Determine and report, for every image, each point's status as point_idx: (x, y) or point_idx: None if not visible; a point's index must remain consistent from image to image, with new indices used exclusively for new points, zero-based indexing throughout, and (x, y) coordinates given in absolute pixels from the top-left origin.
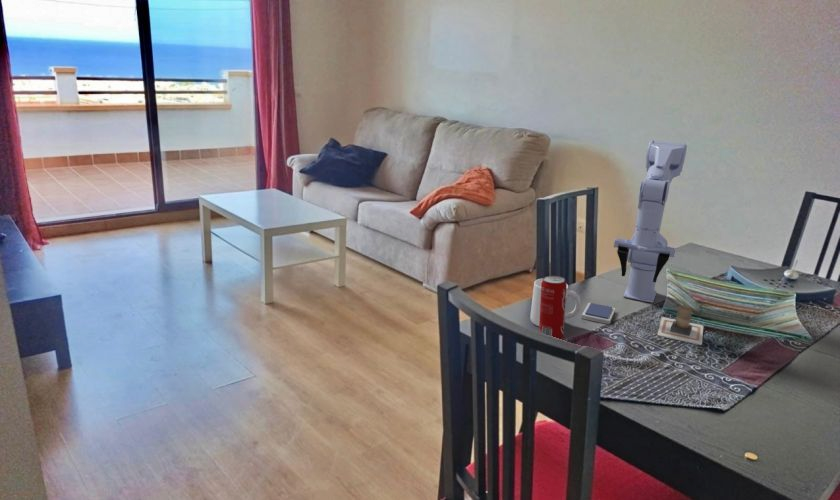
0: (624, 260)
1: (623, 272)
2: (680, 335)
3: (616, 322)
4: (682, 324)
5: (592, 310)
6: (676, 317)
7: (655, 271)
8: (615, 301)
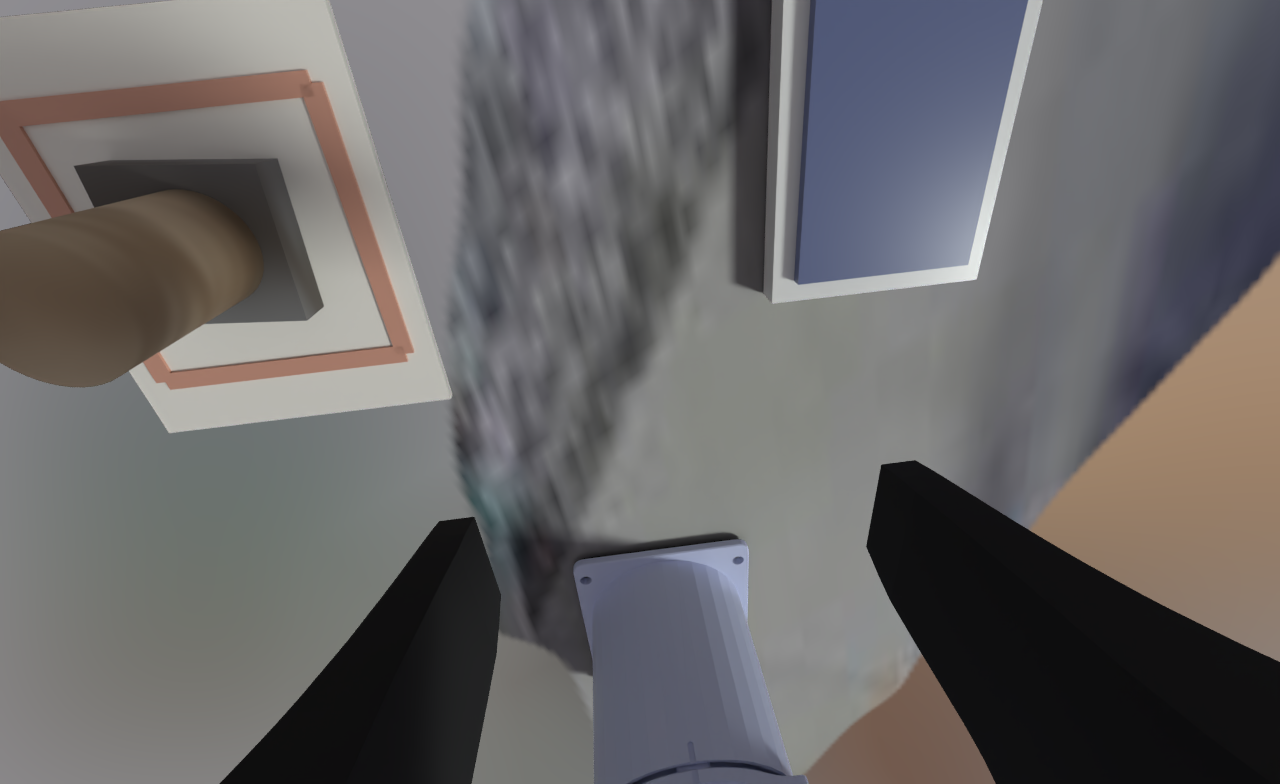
0: (1191, 692)
1: (941, 493)
2: (157, 110)
3: (719, 74)
4: (137, 197)
5: (962, 89)
6: (204, 251)
7: (398, 669)
8: (780, 461)
